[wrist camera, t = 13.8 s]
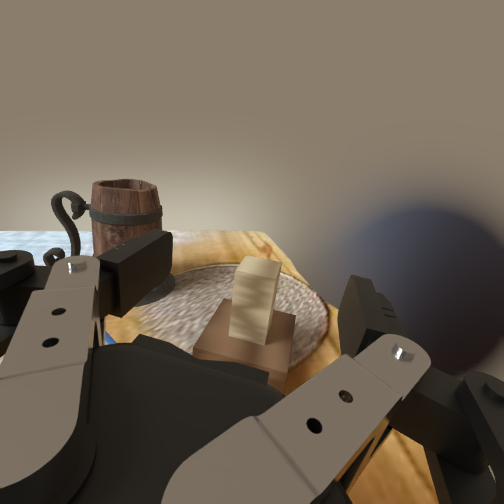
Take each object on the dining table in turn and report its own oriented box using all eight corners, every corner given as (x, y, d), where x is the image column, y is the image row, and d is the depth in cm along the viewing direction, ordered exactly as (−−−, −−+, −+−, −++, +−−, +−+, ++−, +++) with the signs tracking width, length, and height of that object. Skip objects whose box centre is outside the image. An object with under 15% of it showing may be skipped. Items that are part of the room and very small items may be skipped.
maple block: (228, 335, 37) (235, 270, 33) (238, 315, 41) (246, 255, 37) (264, 345, 36) (275, 279, 32) (271, 323, 40) (281, 262, 36)
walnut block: (191, 376, 36) (193, 347, 34) (221, 322, 47) (223, 298, 45) (280, 402, 34) (287, 373, 32) (290, 340, 45) (296, 315, 43)
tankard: (180, 266, 64) (181, 180, 56) (168, 309, 49) (168, 198, 41) (71, 261, 60) (57, 168, 53) (22, 305, 45) (-9, 183, 37)
